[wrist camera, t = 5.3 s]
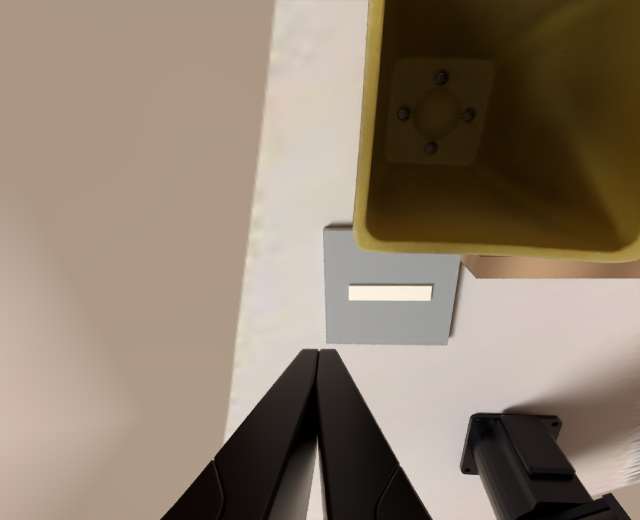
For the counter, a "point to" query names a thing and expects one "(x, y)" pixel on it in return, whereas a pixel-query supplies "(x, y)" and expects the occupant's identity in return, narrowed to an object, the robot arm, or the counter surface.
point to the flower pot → (501, 129)
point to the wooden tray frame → (546, 268)
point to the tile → (386, 294)
